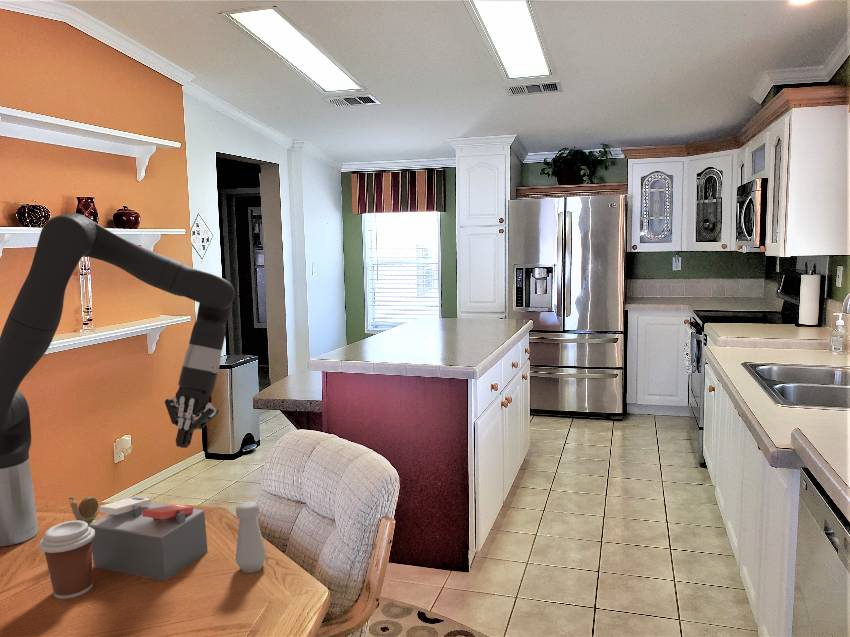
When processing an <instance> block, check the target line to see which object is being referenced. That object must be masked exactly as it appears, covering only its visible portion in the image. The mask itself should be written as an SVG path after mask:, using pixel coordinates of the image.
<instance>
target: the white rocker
mask: <svg viewBox="0 0 850 637" xmlns="http://www.w3.org/2000/svg"><path fill="white" fill-rule="evenodd" d="M151 501H152V498H148V497H140V496H132V497H127V498H125V499H121V500H118V501H114V502H110V503H106V504H101V505H98V508H99V509H98V510H99V511H98V513H102V514H106V515H108V514H113V515H118V514H121V513H124V512H128V511H131V510H132V508H134V507H136V506H138V505H140V506H141V507H144V506H148V505H151V503H152V502H151Z"/></svg>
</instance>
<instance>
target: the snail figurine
mask: <svg viewBox="0 0 850 637" xmlns="http://www.w3.org/2000/svg"><path fill="white" fill-rule="evenodd" d="M68 499H69V500H70V501H69V502H70V504H69V506H70V507H71V511H72V513H73V515H74V518H75V521H77V520H79V521H85V522H86V523H88V527H89V524H91V523H93V522H95V521H97V520H98V519H95V518H96V517H97V515H98V514H99V511H98V510H99V509H98V508H99V502H98V500H97V498H96V497H94V496H87V497H85V498H83V499H81V501H80V503H78V501H77V500H74V499H75V497H74V496H69V497H68ZM71 500H72V501H71Z"/></svg>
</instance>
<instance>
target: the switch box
mask: <svg viewBox="0 0 850 637" xmlns="http://www.w3.org/2000/svg"><path fill="white" fill-rule="evenodd" d="M165 506H171V504H164V503H156V502H151V505H148V506H144V507H141V506H140V505H138V506H136V507H134V508H132V510H131V511H128V512H124V513H121V514H118V515H113V514H106V515H104V516H103V517H101V518H99V519H96V520H97V521H95V522H93V523H91V524H89V527H91V528H92V529H94V530H95V538H94V539H93V540H92V564H93V568H96V569H101V570H107V571H111V572H117V573H122V574H125V575H126V574H127V575H132V576H138V577H141V578H147V579H153V580H158V581H163V582H166V581H168V580H170V578H172V577H174V576H175V575H176V574H178V573H180V572H181V571H182V570H183V569H185V568H186V567H188V566H189V565H190V564H192V563H194V562H196V560H198V559H199V558H201V557H202V556H203V555H205V554H206V553H208V552H209V550H208V540H207V527H206V518H205V509H201V508H200V509H199V508H193V513H191V514H186V515H185V512H182V511H181V512H180V513H178V514H176V516H175V517H169V518H164V519H157V518H150V517H143V516H142V515H143V510H146V509H152V508H159V507H165Z"/></svg>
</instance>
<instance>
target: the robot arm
mask: <svg viewBox="0 0 850 637" xmlns="http://www.w3.org/2000/svg"><path fill="white" fill-rule="evenodd" d="M39 234H40V235H39V238H38V241H37V245H36V248H35V252H34V255H33V259H32V263H31V266H30V269H29V272H28V274H27V275H26V278H25V280H24V282H23V284H22V285H21V288H20V290H19V291H18V294H17V295H16V298H15V299H14V303H13V305H12V307H11V309H10V310H9V314H8V316H7V319H6V321H5V323H4V325H3V328H2V330H1V331H2V332H1V334H0V547H8V546H13V545H17V544H21V543H24V542H26V541H29V540H30V539H31V538H32V539H33V537H36V536H37V535H38V532H39V528H38V520H37V519H38V518H37V517H38V516H37V508H36V501H35V494H34V486H33V485H34V484H33V475H32V469H31V460H30V459H31V458H30V448H31V446H32V428H31V427H32V426H31V414H30V407H29V406H30V405H29V404H28V401H27V399H26V397H25V396H24V394H23V393H22V392H21V391H19V390H18V389H19V387H20V385H21V383H22V382H23V381H24V379H25V377H26V376H27V375H29V373H30V372H31V370H32V369H34V367H35V366H36V365H37V364H38V362H39V361H40V360H41V359H42V357H44V355H45V354H46V352H47V350H48V349H49V347H50V345H51V344H52V342H53V339H54V337H55V335H56V332H57V330H58V327H59V325H60V322H61V320H62V315H63V310H64V309H63V308H64V304H65V303H64V302H65V294H66V289H67V286H68V284H69V282H70V279H71V277H72V276H73V273H74V271H75V269H76V268H77V266H78V264H79V263H80V261H81V259H82V258H83V257H87V258H92V259H94V260H95V259H96V260H99V261H102V262H105V263H107V264H110V265H113V266H115V267H117V268H119V269H121V270H123V271H124V272H126V273H128V274H129V275H132V276H133V277H134V278H136V279H138V280H139V281H141V282H143V283H145V284H147V285H149V286H151V287H153V288H156V289H158V290H162V291H164V292H165V293H169V294H171V295H175V296H178V297H183V298H187V299H190V300H192V301H194V302H197V303H199V305H198V307H197V308H198V309H197V315H196V320H195V322H194V323H193V324H194V325H193V327H192V331H191V334H190V338H189V341H188V342H189V343H188V347H187V348H186V351H185V354H184V358H183V362H182V366H181V371H180V375H179V378H178V379H179V380H178V383H177V384H178V390H177V391H176V392H175V396H174V397H172V398H167V399H165V400H164V405H165V407H166V409H167V410H166V411H167V413H168V416H169V419H170V422H171V423H172V425H175V427H177V434H176V438H175V444H176V445H175V446H176V447H178V448H182V449H183V448H186V449H187V448H189V446H190V445H191V442H192V439H193V435H194V432H195V431H196V430H202V429H204V427H205V426H207V425H208V423H209V422H211V421H212V420H213V419H214V418H215V417H216V416H217V415H218V414H219V409H218V408H215V406H213V404H212V402H213V400H212V399H213V398H212V394H213V391H214V390H215V387H216V382H217V379H218V373H219V369H220V366H221V362H222V360H221V358H222V351H223V347H224V342H225V339H226V333H227V332H226V331H227V329H226V328H227V323H228V320H229V315H230V311H231V308H232V306H233V305H232V304H233V302H234V300H235V297H236V292H235V288H234V286H233V284H232V283H231V282H230V281H228V280H227V279H225V278H223V277H221V276H219V275H215V274H213V273H210V272H207V271H202V270H199V269H196V268H193V267H192V266H189V265H187V264H185V263H182V262H180V261H178V260H175V259H172V257H171V258H170V257H168V256H165V255H162V254H160V253H158V252H155V251H153V250H151V249H149V248H145V247H143V246H140V245H138V244H136V243H134V242H132V241H130V240H127V239H125V238H123V237H122V236H120V235H117V234H115V233H114V232H112V231H110V230H109V229H108V228H105V227H104V226H102V225H101V224H98V223H97V222H95V221H93V220H92V219H91V218H88V217H87V216H85V215H83V214H80V213H76V212H67V213H63V214H59V215H56V216H54V217H51V218H50V219H49V220H47V221H46V223H45V224H44V225H43V226H42V229H41V231H40V233H39Z"/></svg>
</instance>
